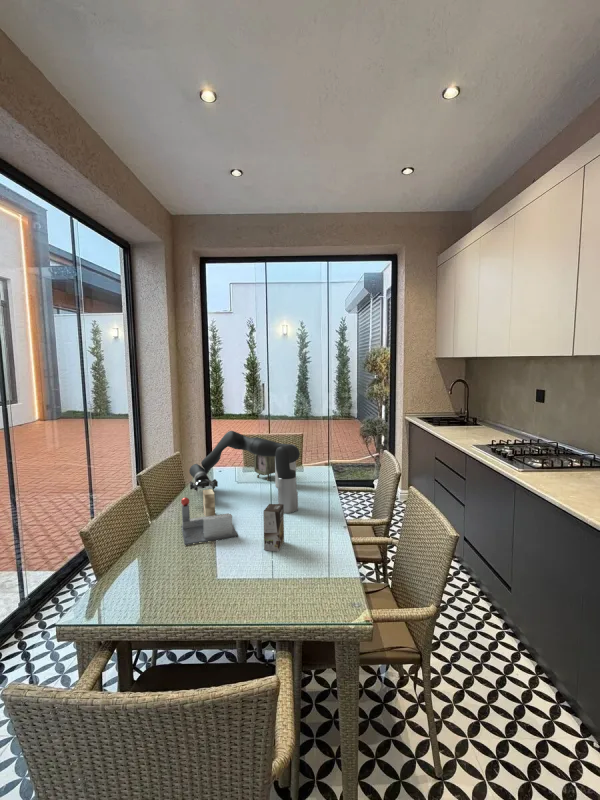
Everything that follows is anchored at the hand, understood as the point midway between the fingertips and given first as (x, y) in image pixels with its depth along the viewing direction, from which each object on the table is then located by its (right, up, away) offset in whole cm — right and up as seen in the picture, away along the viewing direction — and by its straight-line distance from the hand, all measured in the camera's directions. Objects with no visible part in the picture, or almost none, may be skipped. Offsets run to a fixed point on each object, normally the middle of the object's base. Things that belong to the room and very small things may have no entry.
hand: (205, 488), depth 203 cm
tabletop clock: (+27, -6, +54) cm, 61 cm away
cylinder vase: (+40, -7, +36) cm, 54 cm away
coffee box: (+39, -14, -44) cm, 60 cm away
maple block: (+4, -11, -10) cm, 16 cm away
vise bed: (+9, -13, -30) cm, 33 cm away
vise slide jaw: (+6, -11, -23) cm, 26 cm away
